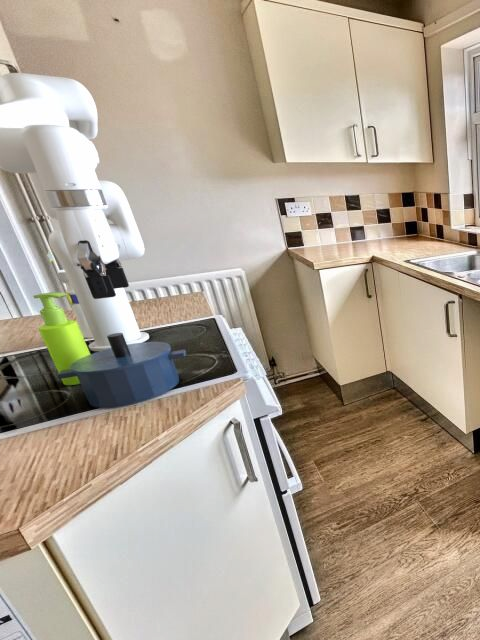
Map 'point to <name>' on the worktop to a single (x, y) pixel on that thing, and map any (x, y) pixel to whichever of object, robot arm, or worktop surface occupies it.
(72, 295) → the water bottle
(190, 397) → the worktop surface
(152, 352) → the pan lid
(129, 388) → the pan
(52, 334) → the soap dispenser
